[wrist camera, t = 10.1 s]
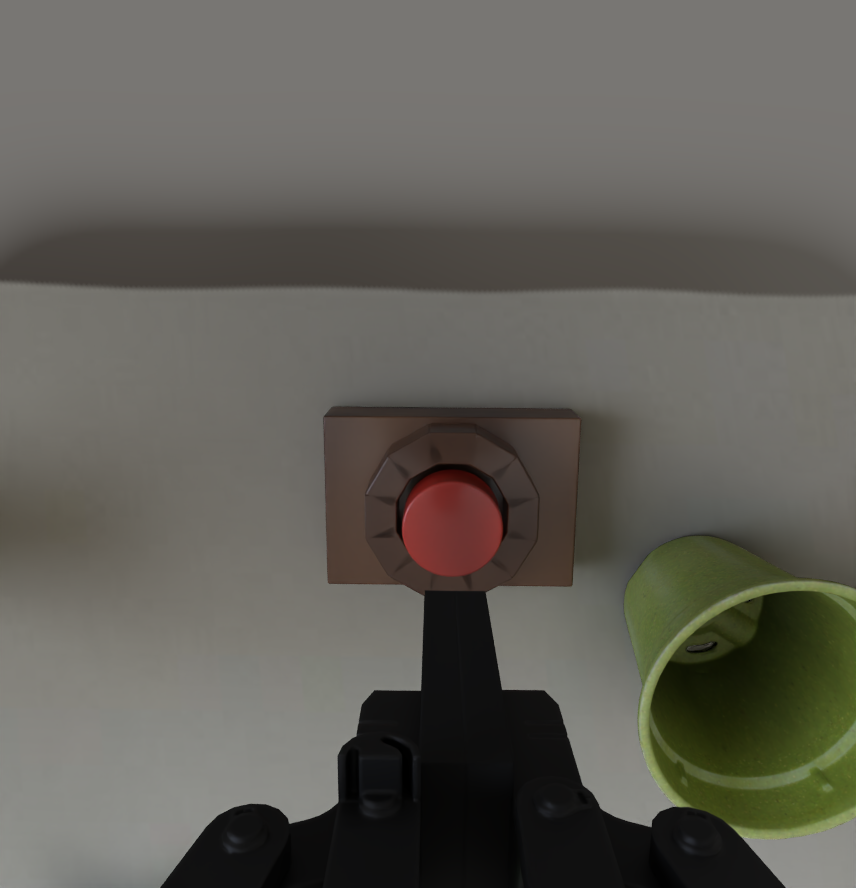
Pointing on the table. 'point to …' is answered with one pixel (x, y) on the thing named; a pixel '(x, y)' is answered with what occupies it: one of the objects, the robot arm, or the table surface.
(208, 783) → the table surface
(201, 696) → the table surface
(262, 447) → the table surface
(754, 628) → the plant pot
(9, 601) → the table surface
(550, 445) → the button block
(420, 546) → the button
